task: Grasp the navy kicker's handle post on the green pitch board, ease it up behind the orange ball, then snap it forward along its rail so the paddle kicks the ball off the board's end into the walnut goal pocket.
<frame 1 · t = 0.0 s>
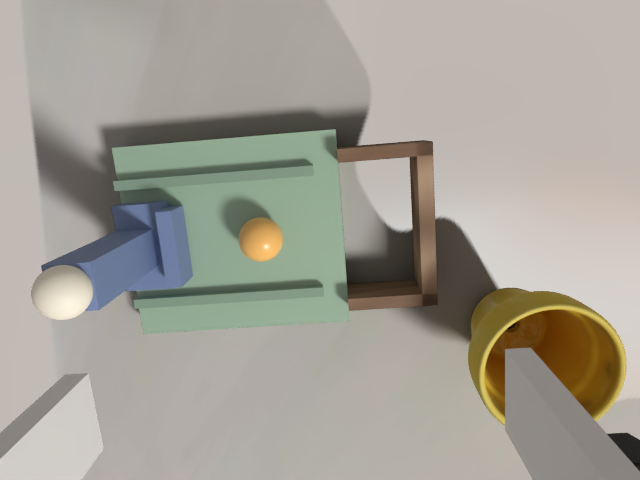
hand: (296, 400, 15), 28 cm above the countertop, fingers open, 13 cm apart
goal: (384, 220, 42), on the countertop
ball: (260, 239, 39), point 4 cm above the countertop, touching pitch
pitch: (240, 230, 43), on the countertop
plant pot: (505, 320, 44), on the countertop
kicker: (120, 266, 34), point 10 cm above the countertop, slide at 0.0 cm
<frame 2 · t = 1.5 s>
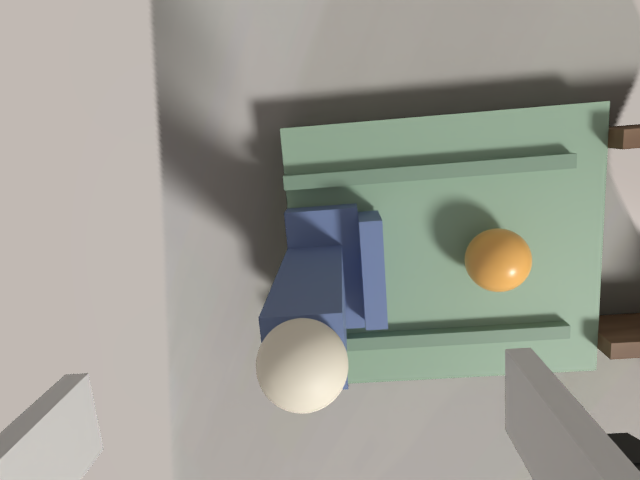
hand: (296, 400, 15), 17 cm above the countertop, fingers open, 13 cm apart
ball: (497, 260, 27), point 4 cm above the countertop, touching pitch
pitch: (436, 244, 31), on the countertop
kicker: (334, 306, 22), point 10 cm above the countertop, slide at 0.0 cm
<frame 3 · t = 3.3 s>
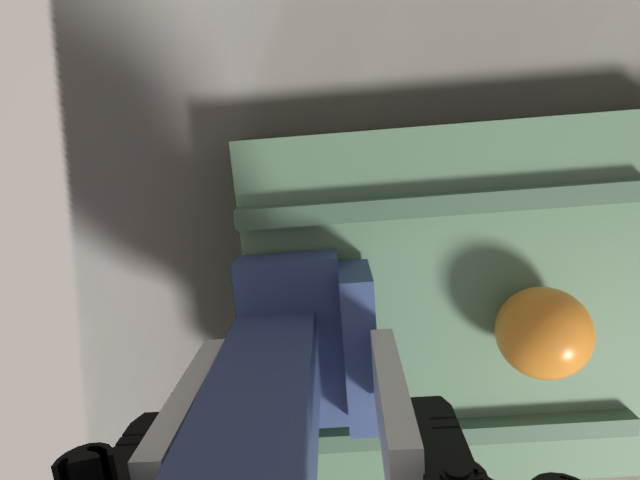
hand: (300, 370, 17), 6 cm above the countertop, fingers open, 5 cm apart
ball: (543, 332, 19), point 4 cm above the countertop, touching pitch
pitch: (450, 299, 23), on the countertop
kicker: (296, 434, 14), point 10 cm above the countertop, slide at -0.1 cm, touching gripper
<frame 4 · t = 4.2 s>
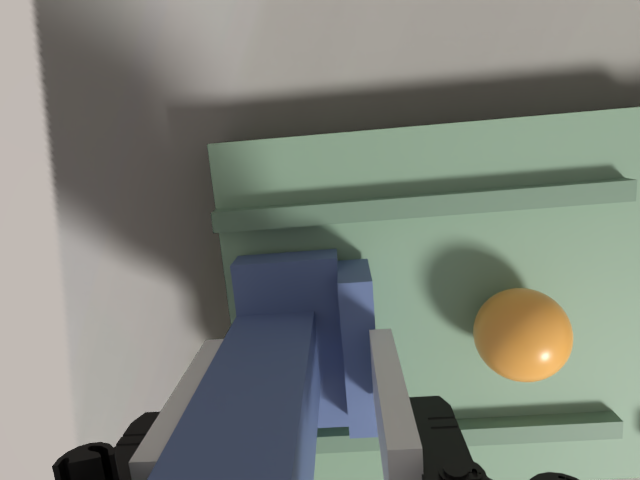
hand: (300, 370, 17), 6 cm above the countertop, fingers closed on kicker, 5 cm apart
ball: (521, 334, 19), point 4 cm above the countertop, touching pitch
pitch: (433, 300, 23), on the countertop
kicker: (293, 433, 14), point 10 cm above the countertop, slide at 0.7 cm, touching gripper
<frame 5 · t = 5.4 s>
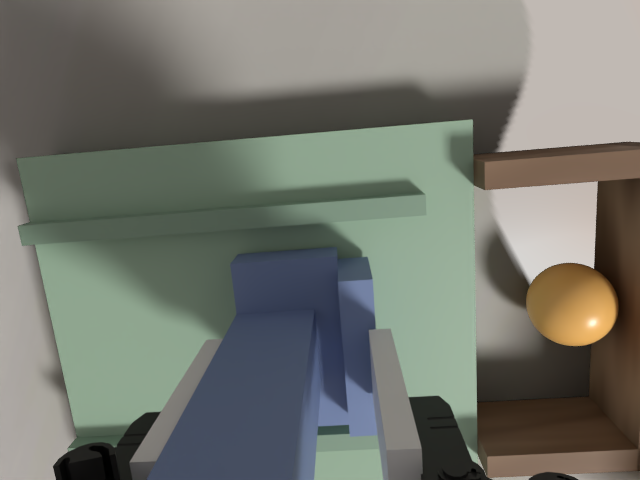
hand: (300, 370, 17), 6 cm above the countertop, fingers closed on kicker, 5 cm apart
goal: (540, 291, 23), on the countertop
ball: (570, 304, 21), point 2 cm above the countertop, tilted 24°
pitch: (269, 309, 23), on the countertop
kicker: (293, 431, 14), point 10 cm above the countertop, slide at 8.5 cm, touching gripper
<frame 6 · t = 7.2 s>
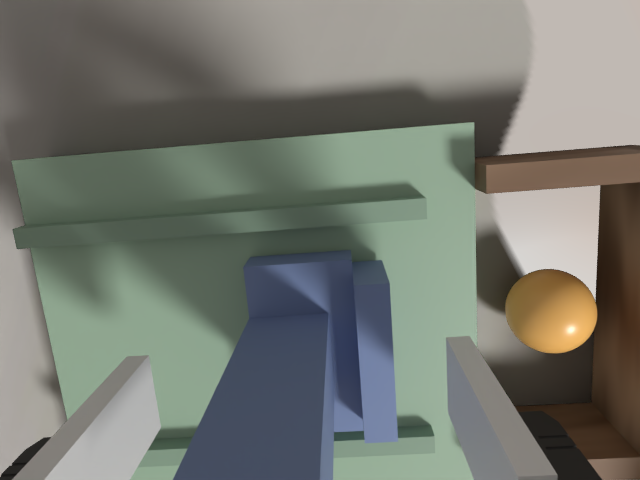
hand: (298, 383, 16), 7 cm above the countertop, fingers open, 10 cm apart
goal: (541, 296, 22), on the countertop
ball: (549, 310, 21), point 2 cm above the countertop, tilted 56°
pitch: (267, 313, 23), on the countertop
kicker: (312, 439, 13), point 10 cm above the countertop, slide at 9.1 cm
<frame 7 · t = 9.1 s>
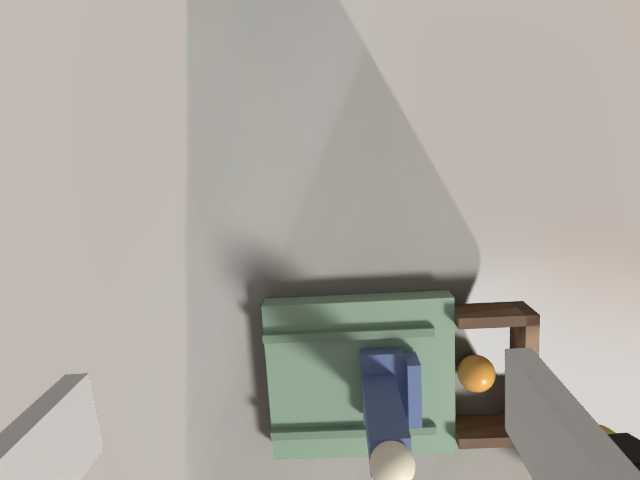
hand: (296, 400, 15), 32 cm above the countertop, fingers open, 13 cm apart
goal: (485, 364, 49), on the countertop
ball: (476, 373, 47), point 2 cm above the countertop, tilted 90°
pitch: (359, 370, 50), on the countertop
kicker: (397, 422, 40), point 10 cm above the countertop, slide at 9.1 cm
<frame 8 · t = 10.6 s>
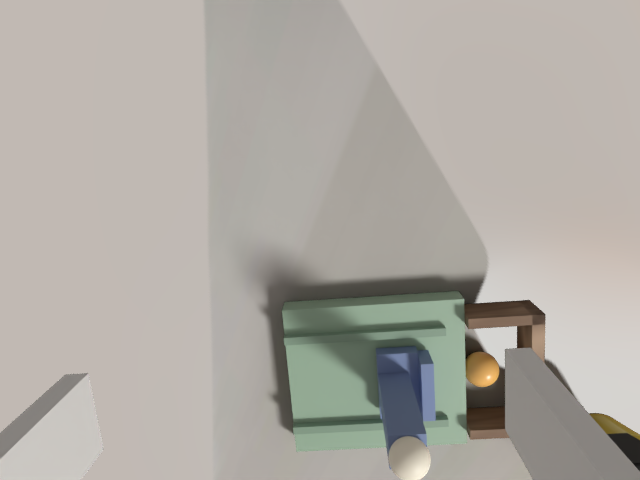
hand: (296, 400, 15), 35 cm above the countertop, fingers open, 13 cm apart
goal: (494, 360, 52), on the countertop
ball: (481, 369, 50), point 2 cm above the countertop, tilted 104°
pitch: (374, 367, 53), on the countertop
plant pot: (590, 437, 54), on the countertop
kicker: (412, 417, 43), point 10 cm above the countertop, slide at 9.1 cm
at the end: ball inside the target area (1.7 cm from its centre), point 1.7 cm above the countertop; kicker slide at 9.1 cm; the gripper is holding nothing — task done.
